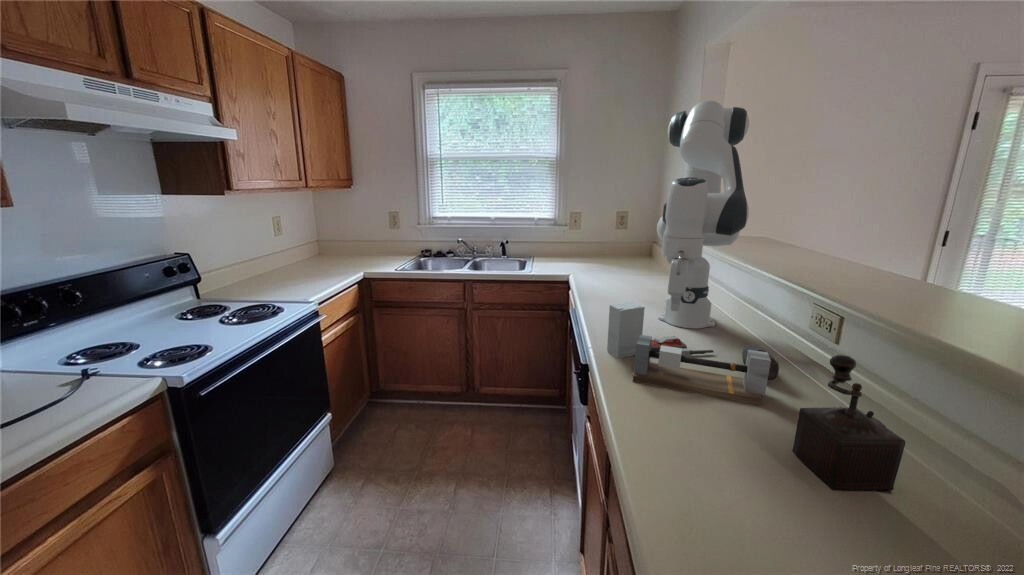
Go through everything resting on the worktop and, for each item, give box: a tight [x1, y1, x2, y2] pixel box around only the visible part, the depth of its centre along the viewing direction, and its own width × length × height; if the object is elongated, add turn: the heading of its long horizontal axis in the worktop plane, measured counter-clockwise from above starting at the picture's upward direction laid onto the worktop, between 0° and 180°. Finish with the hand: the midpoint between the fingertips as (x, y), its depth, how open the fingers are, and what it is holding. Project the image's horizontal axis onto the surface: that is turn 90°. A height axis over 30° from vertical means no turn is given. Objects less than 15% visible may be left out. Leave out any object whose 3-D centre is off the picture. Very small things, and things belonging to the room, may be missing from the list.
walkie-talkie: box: [651, 335, 715, 357], centre depth 122 cm, size 9×4×20 cm
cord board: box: [632, 334, 771, 406], centre depth 101 cm, size 10×29×10 cm, turn 66°
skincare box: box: [606, 301, 646, 359], centre depth 119 cm, size 8×6×15 cm
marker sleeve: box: [657, 345, 682, 369], centre depth 104 cm, size 4×5×4 cm
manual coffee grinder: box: [792, 354, 906, 492], centre depth 72 cm, size 16×11×18 cm
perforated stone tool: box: [741, 344, 780, 382], centre depth 109 cm, size 15×5×7 cm, turn 170°
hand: (675, 305), depth 100 cm, fingers open, 8 cm apart
